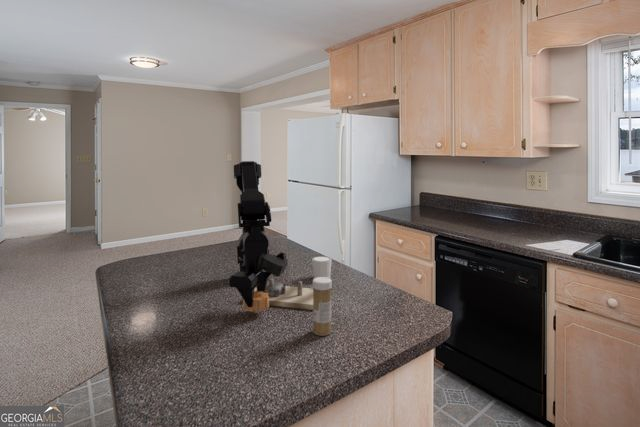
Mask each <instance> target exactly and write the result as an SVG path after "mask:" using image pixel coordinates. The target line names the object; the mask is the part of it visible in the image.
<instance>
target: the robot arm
mask: <svg viewBox="0 0 640 427" xmlns="http://www.w3.org/2000/svg"><path fill="white" fill-rule="evenodd" d="M261 178H262V164H259V163H257V161H253V160H252V161H251V160H250V161H249V160H248V161H246V160H245V161H243V160H242V161H240V162H239V163H237V164H236V163H235V164H234V165H233V179H234V180H235V181H236V186H237V188H238V189H239V191H240V192H241V194H240V195H239V202H237V220H238V228H241V229H242V232H241V233H242V234H240V236H239V238H238V245H236V257H237V258H236V259H237V261H236V262H237V264H239V271H236V272H235V273H233V274H232V275H231V276H230V277H229V278H228V287H229V288H236V290H237V291H238V292H239V294H240V295H241V297H242V300H243V299H244V301H245V302H246V304H247V306H248V307H252V306H253V298H254V289H255V288H256V287H257V290H258V292H259V291H263V292H265V289H266V285H267V281H268V282H269V279H270V276H272V275H273V276H274V277H280V276H281V275H282V274H284V273H285V270H286V267H287V265H288V264H289V263H288V259H287V254H286V253H285V252H282V251H280V252H279V253H278V254H270V249H269V239H268V236H267V235H266V232H265V230H266V229H265V227H271V225H270V223H271V222H272V213H271V206H270V205H269V202H268V201H266V199H265V194H263V192H261V191H260V190H259V184H260V179H261Z"/></svg>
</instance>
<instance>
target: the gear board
mask: <svg viewBox="0 0 640 427" xmlns="http://www.w3.org/2000/svg"><path fill="white" fill-rule="evenodd" d="M256 291H258V290H257V287H256V288H255V289H254V292H256ZM265 293H269V306H270V307H271V306H272V307H273V306H274V307H281V308H282V307H283V308H290V309H302V310H311V311H313V287H303V281H302V280H298V281H297V286H289V285H286V282H279V281H278V280H274V278H268V281H267V285H266V289H265Z"/></svg>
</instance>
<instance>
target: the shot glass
mask: <svg viewBox="0 0 640 427" xmlns="http://www.w3.org/2000/svg"><path fill="white" fill-rule="evenodd" d="M332 260H333V259H332V257H330V256H324V255H321V256H314V257H312V258H311V264H312V272H313V273H312V275H313V279H314V278H317V277H327V278H330V279H331V272H332V271H331V270H332Z"/></svg>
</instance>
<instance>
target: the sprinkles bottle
mask: <svg viewBox="0 0 640 427" xmlns="http://www.w3.org/2000/svg"><path fill="white" fill-rule="evenodd" d="M332 282H333V281H332V279H331V277H330V278H327V277H317V278H314V277H313V279H312V288H313V310H312V311H313V312H312V314H313V315H312V316H313V317H312V318H313V329H312V332H313V334H314V335H316V336H320V337H324V336H325V337H326V336H329V335H330V334H332V326H331V325H332V324H331V323H332V288H333V285H332Z"/></svg>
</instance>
